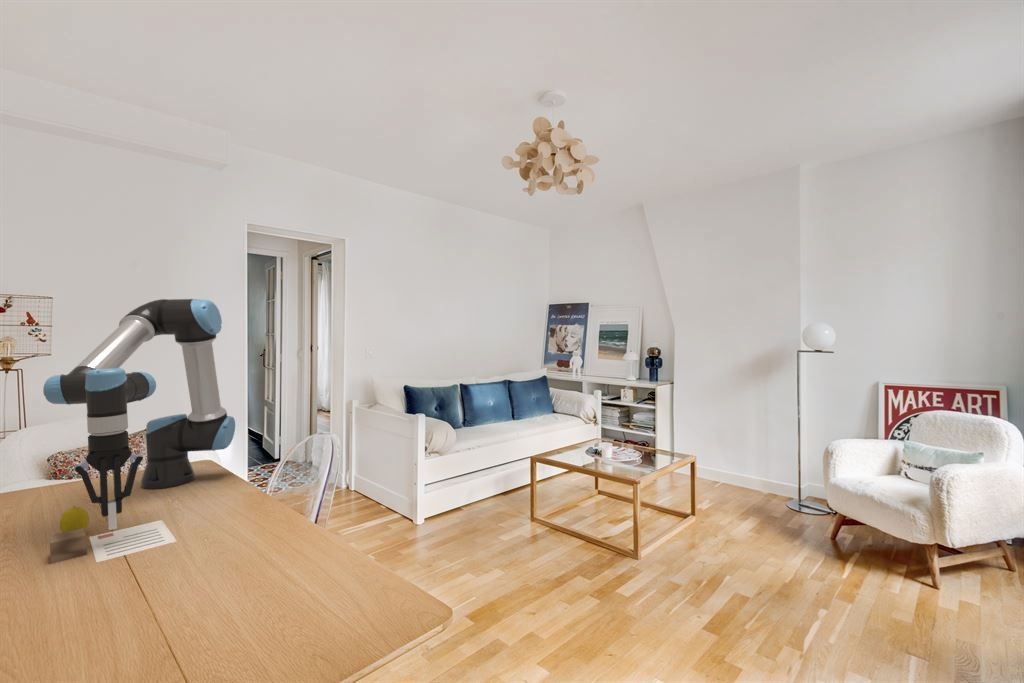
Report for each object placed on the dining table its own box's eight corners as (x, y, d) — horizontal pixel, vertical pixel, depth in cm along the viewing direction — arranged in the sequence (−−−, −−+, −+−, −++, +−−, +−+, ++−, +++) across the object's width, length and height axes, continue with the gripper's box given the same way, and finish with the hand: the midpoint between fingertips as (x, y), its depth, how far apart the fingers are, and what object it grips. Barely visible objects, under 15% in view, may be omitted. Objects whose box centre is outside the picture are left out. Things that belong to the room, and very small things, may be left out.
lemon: (95, 533, 124) (94, 502, 124) (73, 542, 118) (72, 510, 118) (76, 532, 124) (75, 502, 124) (53, 541, 119) (52, 510, 119)
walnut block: (84, 548, 115) (84, 527, 115) (86, 556, 111) (86, 535, 111) (50, 556, 111) (49, 535, 111) (50, 565, 107) (50, 543, 107)
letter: (161, 520, 132) (161, 519, 132) (177, 542, 118) (177, 541, 118) (89, 537, 121) (89, 536, 121) (96, 563, 107) (96, 562, 107)
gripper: (139, 425, 123) (143, 515, 124) (71, 434, 114) (75, 531, 115) (144, 430, 118) (148, 523, 119) (72, 439, 109) (77, 541, 110)
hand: (112, 527), depth 117 cm, fingers closed
